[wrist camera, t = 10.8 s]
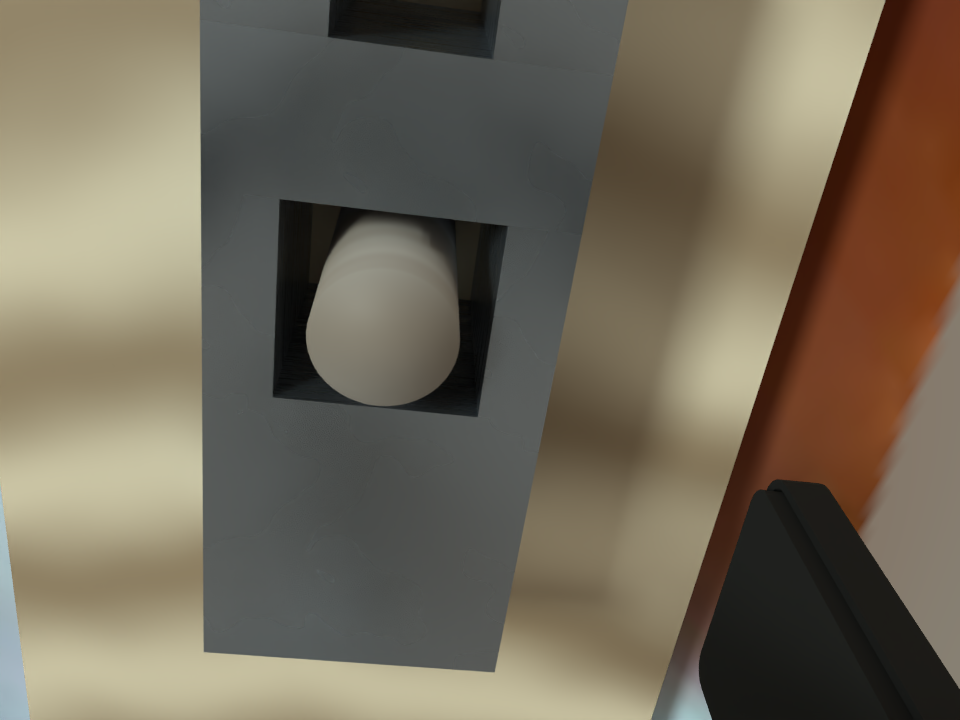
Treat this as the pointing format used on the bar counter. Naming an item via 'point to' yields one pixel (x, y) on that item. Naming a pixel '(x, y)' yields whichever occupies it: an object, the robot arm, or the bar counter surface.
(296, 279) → the grey rectangular block
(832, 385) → the bar counter surface
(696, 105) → the board
